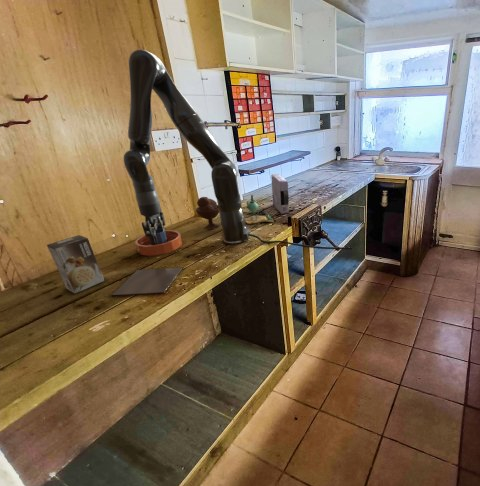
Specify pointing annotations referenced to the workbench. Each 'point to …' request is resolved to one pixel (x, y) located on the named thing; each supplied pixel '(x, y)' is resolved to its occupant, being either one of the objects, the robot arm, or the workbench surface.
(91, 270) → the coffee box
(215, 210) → the ice cream bowl
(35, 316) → the workbench surface
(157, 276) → the walnut mat
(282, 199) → the cake pan box
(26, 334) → the workbench surface
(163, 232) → the blue cup
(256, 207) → the frog figurine
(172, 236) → the terracotta bowl
